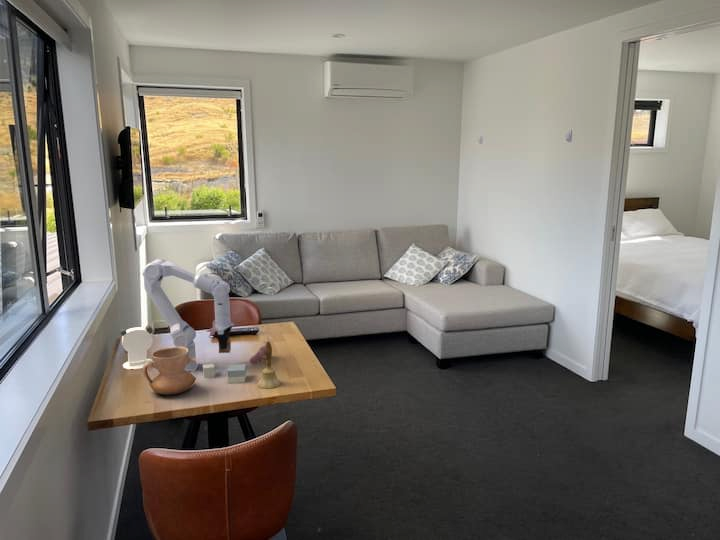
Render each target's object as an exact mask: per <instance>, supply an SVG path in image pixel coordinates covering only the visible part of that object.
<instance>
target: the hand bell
mask: <svg viewBox="0 0 720 540" xmlns="http://www.w3.org/2000/svg"><path fill="white" fill-rule="evenodd" d="M264 346H265V356H266V358H265V360H266V361H265V363H266V365H265V368H264V369H263V370H262V374H261V378H260V380H259V381H258V382H257V386H258V387H259V388H260V387H261V389H274V388H278V387H279V386H281V384H282V382H281V380H279V378H278V377H277V374H276V369H275V368H273V367H272V360H271V359H272V358H271V357H272V355H273V347H272V344H271V342H270V341H266V342H265V345H264Z"/></svg>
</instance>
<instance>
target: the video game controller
mask: <svg viewBox="0 0 720 540" xmlns="http://www.w3.org/2000/svg"><path fill="white" fill-rule="evenodd" d="M265 346H266V345H263V346H260V348H259V349H258V351H257V353H255V355H253V356H252V357H251V358H250V359H249V363H250V364H251V363H252V364H253V365H254V364H256V363H258V362H259V363H261V362H262V361H263V360H265V359H266V356H265Z"/></svg>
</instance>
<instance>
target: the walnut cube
mask: <svg viewBox="0 0 720 540" xmlns="http://www.w3.org/2000/svg"><path fill="white" fill-rule="evenodd" d="M231 342H232V340H231V339H230V338H229V340H227V347H226V349H221V348H220V345H219V344H218V353H219V354H225V353H226V354H227V353H228V354H229V353H231V350H232V343H231Z"/></svg>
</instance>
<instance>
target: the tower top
mask: <svg viewBox="0 0 720 540" xmlns="http://www.w3.org/2000/svg"><path fill="white" fill-rule="evenodd" d="M245 373H246V374H247V365H246V363H245V364H244V363H242V364H241V363H240V364H239V363H238V364H229V365H228V368H227V377H245Z"/></svg>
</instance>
